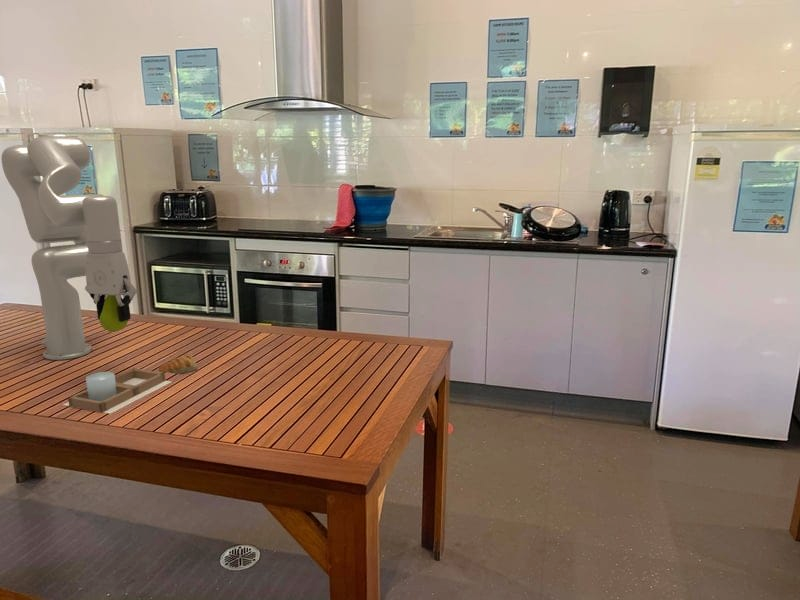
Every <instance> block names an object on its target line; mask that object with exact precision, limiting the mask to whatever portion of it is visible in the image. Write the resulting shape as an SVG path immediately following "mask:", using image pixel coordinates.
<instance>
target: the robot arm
mask: <svg viewBox="0 0 800 600" xmlns="http://www.w3.org/2000/svg"><path fill="white" fill-rule="evenodd" d="M90 160H91V152H90V149H89V147H88V145H87V144H86V142H85V141H84V140H82V139H81V138H79V137H78V136H64V135H63V136H62V135H51V136H50V135H43V136H36V137H35V138H33V139H31V140H30V141H29V142H28V144H17V145H11V146H8V147H6V148H5V149H4V150H3V151H2V153H1V167H2V171H3V173H4V176H5V178H6V180H7V182H8V183H9V185H10V186H11V188H12V190H13V191H14V192H15V194H16V196H17V198H18V200H19V203H20V204H19V205H20V206H21V207H20V208H21V211H22V214H23V218H24V220H25V224H26V227H27V231H28V234H29V236H30V238H31V239H32V241H33V242H35V243H38V244H55V243H56V244H57V243H65V242H73V244H65V245H64V244H63V245H55V246H54V245H53V246H47V247H42V248H39V249H37V250H36V251H34V253H33V254H32V256H31V266H32V269H33V272H34V275H35V279H36V281H37V285H38V290H39V295H40V300H41V307H42V313H43V320H44V328H45V333H46V336H45V337H44V339H42V340H41V341H40V345H43V346H45V347H46V349H45V350H44V351H43V352H42V355H43V358H44V359H47V360H52V361H53V360H54V361H61V360H62V361H63V360H70V359H76V358H80V357H83V356H86V355H88V354H89V353H91V352H92V350H93V346H92V344H89V343H86V338H85V337H86V336H85V329H84V323H83V314H82V308H81V300H80V294H79V292H78V290H77V289H76V288H75V287H74V286H73V285H72V284H71V283H69V281H68V280H70V279H73V278H74V279H75V278H81V277H85V280H86V281H85V283H86V285H85V287H84V290H85V292H86V293H87V294H89V296H90V298H91V299H92V301H93V304H94V305H95V306H96V313H97V314H96V315H97V320H99V319H100V315H101V312H102V310H103V306H104V302H105V299H106V297H107V295H111V296H115V297H116V299H117V301H118V303H119V305H120V306H117V310H118V317H119V321H120V322H123V321H126V320H130V319H131V317H132V316H131V311H130V304H131V303H132V300H133V299H134V297H135V296H136V294H137V293H138V290H137V288H136V287H135V286H134V285H133V284H132V281H131V280H132V279H131V274H130V268H129V265H128V260H127V258H126V255H125V252H123V243H122V235H121V228H120V227H121V226H120V219H119V211H118V202H117V199H116V198H115V197H113V196H110V195H103V194H100V193H92V194H91V193H90V194H88V193H87V194H66V193H67V192H70V191H72V190H74V189H75V188H76V187H78V185H80V182H81V180H82V172H81V171H82V170H84V169H86V168H87V167H88V166H89V164H90ZM36 177H42V178H43V179H42V180H41V181H40V180H39V179H37V178H36ZM63 194H64V195H63ZM65 194H66V195H65Z"/></svg>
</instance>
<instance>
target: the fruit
mask: <svg viewBox="0 0 800 600" xmlns="http://www.w3.org/2000/svg"><path fill="white" fill-rule="evenodd" d="M117 306H120V305H119V303H118V301H117V299H116V297H115V296H111V295H107V297H106V299H105V302H104V306H103V310H102V312H101V315H100V319H98V320H99V324H100V326H101V327H102V328H103V329H104V330H105V331H108V332H112V333H113V332H119V331H122V330H124V328H126V327H127V326H128V320H126V321H123V322H120V321H119V317H118V310H117Z"/></svg>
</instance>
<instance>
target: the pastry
mask: <svg viewBox="0 0 800 600" xmlns="http://www.w3.org/2000/svg"><path fill="white" fill-rule="evenodd" d="M196 370H197V363H196V361H195V359H194V357H193V356H192V355H190V354H189V355H188V354H186V355H185V356H179V357H174V358H172V359H171V360H170V361H167V362H165V363H163V364H162V365H160V366H159V367H158V371H159V372H160V373H168V374H169V373H171V374H177V375H181V374H185V373H189V372H193V371H196Z"/></svg>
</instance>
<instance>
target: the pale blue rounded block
mask: <svg viewBox="0 0 800 600" xmlns="http://www.w3.org/2000/svg"><path fill="white" fill-rule="evenodd" d="M115 375H116V374H115V373H114V372H112V371H99V372H95V373H92V374H89V375H87V376H86V377H85V382H86V384H85V385H86V389H87V391H88V399H91V400H96V401H104V400H106V399H108V398H110V397H113V396H115V395H117V390H116V382H115Z"/></svg>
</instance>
